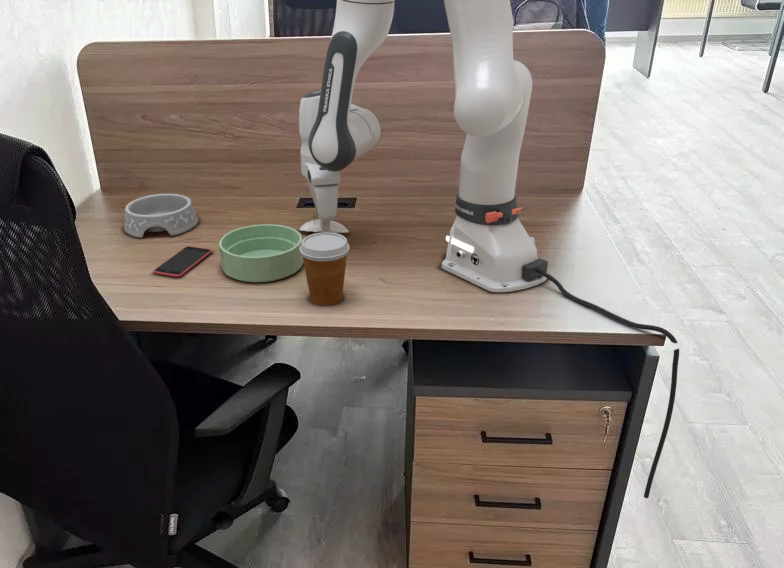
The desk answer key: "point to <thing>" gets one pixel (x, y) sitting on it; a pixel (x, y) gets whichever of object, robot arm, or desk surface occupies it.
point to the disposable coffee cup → (325, 266)
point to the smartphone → (182, 261)
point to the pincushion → (316, 226)
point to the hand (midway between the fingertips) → (322, 223)
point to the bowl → (261, 253)
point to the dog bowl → (160, 215)
